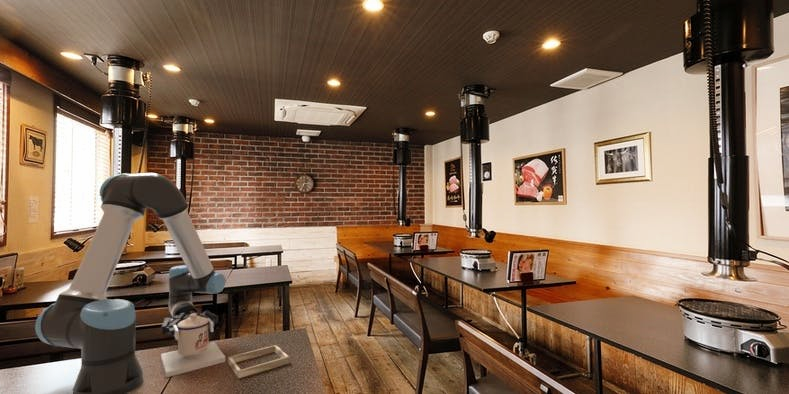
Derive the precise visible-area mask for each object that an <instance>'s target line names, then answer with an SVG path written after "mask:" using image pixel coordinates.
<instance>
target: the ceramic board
mask: <svg viewBox="0 0 789 394" xmlns="http://www.w3.org/2000/svg"><path fill="white" fill-rule="evenodd" d="M160 360H161V364H162V367H163V372H164V374H165V377H166V378H168V377H170V378H171V377H174V376H177V375H181V374H184V373H188V372H189V373H190V372H192V371H196V370H200V369H203V368H206V367H210V366H211V367H212V366H214V365H218V364H222V363H226V355H225V354H224V353H223V352H222V350H221V348H219V346H218V344H217V342H216V341H212V342H209V347H208V349H207V350H205V351H204V352H202V353H199V354H195V355H189V356H184V355H180V354H179V353H178V349H176V350H172V351H168V352H163V353H160Z"/></svg>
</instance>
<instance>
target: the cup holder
mask: <svg viewBox="0 0 789 394" xmlns="http://www.w3.org/2000/svg"><path fill="white" fill-rule="evenodd" d="M272 353H275V354H276V355H277V357H279V358H276V359H273V360H270V361H266V362H263V363H260V364H256V365H252V366H249V367H244V368H242V369H241V368H240V367H239V366H238V364H237V363H239V362H243V361H246V360H250V359H254V358H257V357H260V356H264V355H269V354H272ZM227 364H228V365H229V367H230V369H231V370H232V371H233V373H234V374H235V376H236V377H237V378H238V379H242V378H245V377H248V376H252V375H255V374H258V373H261V372H265V371H268V370H271V369H275V368H279V367H282V366H284V365H285V366H286V365H288V364H290V356H289V355H288V354H287V353H286V352H284V351H283V349H281V348H280V346H278V345H277V344H273V345H270V346H266V347H262V348H258V349H255V350H251V351H247V352H241V353H239V354H235V355H231V356H228V357H227Z"/></svg>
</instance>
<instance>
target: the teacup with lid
mask: <svg viewBox="0 0 789 394" xmlns="http://www.w3.org/2000/svg"><path fill="white" fill-rule="evenodd" d="M177 328H178V330H179V339H178V340H177V350H178V353H179V354H180V355H184V356H189V355H195V354H199V353H202V352H204V351H205V350H207V349H208V347H209V343H210V340H209V332H210V330H209V320H208V319H207V318H205V317H200V316H197V314H196V313H193V314H190V317H188V318H187V319H185V320H183V321H181V322H179V323H178V325H177Z"/></svg>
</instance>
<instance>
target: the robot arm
mask: <svg viewBox="0 0 789 394" xmlns="http://www.w3.org/2000/svg"><path fill="white" fill-rule="evenodd" d="M99 196H100V201H101V202H102V203H101V205H100V208H101V210H102V211H103V214H102V217H101V219H100V222H98V223H99V224H98V226H97V228H96V230H95V232H94V234H93V236H92V238H91V241H90V243H89V245H88V247H87V249H86V251H85V253H84V256H83V257H82V260H81V262H80V265H79V266H78V269H77V270H76V272H75V275H74V277H73V279H72V282H71V284H70V286H69V288H67V289H66V290H65V291H62V292H59V294H58V296H57V298H56V301H55V303H52V304H50V305H49V306H48V307H45V308H44V309H43V310H42V311H41V312H40V314H38V317H37V318H36V321H35V328H34V329H35V333H36V336H37V337H38V339H39V340H40V341H41V342H43V343H45V344H48V345H50V346H53V347H58V348H59V347H61V348H64V347H65V348H70V349H71V348H72V349H78V350H79V349H80V350H81V351H80V352H81V353H80V354H81V356H80V357H81V358H80V359H81V365H80V369H79V372H78V375H77V378H76V380H75V382H74V385H73V387H72V394H127V393H130V392H131V391H133V390H135V389H137V388H138V387H139V386H140V385H141V384H142V383H143V380H144V376H143V375H144V373H143V368H142V367H141V364H140V362H139V359H138V358H137V354H136V319H137V318H136V317H137V316H136V315H137V314H136V310H135V305H134V304H133V302H132V301H130V300H126V299H120V298H114V299H111V298H107V297H106V295H105V294H106V292H107V290H108V287H109V285H110V282H111V280H112V278H113V275H114V273H115V271H116V268H117V265H118V263H119V261H120V258H121V256H122V254H123V252H124V249H125V247H126V244H127V242H128V240H129V237H130V235H131V233H132V230H133V227H134V225H135V223H136V222H137V221H139V220H141V219H143V218H144V216H145V213H146V211H147V209H149V210H151V211H153V212H154V213H155V215H156V217H157V218H158V219H160V220H162V222H163V223H164V225H165V227H166V229H167V231H168V233H169V235H170V237H171V239H172V240H173V243H174V245H175V247H176V249H177V252H179V255H180V256H181V258H182V261H183V263H184V264H183V265H176V266H172V267H171V268H170V269H168V273H169V274H168V292H169V293H168V304H167V306H168V307H167V310H168V312H169V314H170V315H171V317H172V318H171V317H164V318H163V323H162V325H161V334H162V335H166V334H167V333H168V336H169V337H171V336H174V339H175V341H178V339H179V330H178V328H177V325H178V323H179V322H181V321H183V320H185V319H187V318H188V317H190V314H193V313H196V314H197V316H200V317H205V318H207V319H208V320H209V332H210V333H214V327H215V326H216V325H215V324H218V323H219V315H217V314H215V313H213V312H211V311H209V310H208V309H206V310H205V311H203V313H202V312H200V311H199V310H198V309H197V308H196V306H195V305H194V304H193V293H200V294H208V295H209V294H211V295H212V294H218V293H221V292H222V291H223V290H224V289H225V286H226V283H227V282H226V276H225V275H224V274H223V273H220V272H216V271H215V268H214V267H213V264H212V262H211V260H210V258H209V256H208V253H207V251H206V249H205V248H204V244H203V242H202V241H201V238H200V236H199V234H198V232H197V230H196V228H195V225H194V223H193V221H192V219H191V217H190V214H189V212H188V209H189V204H188V202H187V201H186V200H187V199H186V198H185V196H184V194H183V192H182V191H181V190H180V189H179V188H178V187H177V185H176V184H175V183H174V182H173V181H172V180H170V179H169V178H167V177H166V176H164V175H162V174H159V173H156V172H143V173H128V172H126V173H121V174H120V173H119V174H116V175H112V176H110V177H109V178H107V179H106V180H104V182H103V183H102V184H101V186H100V188H99Z"/></svg>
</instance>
